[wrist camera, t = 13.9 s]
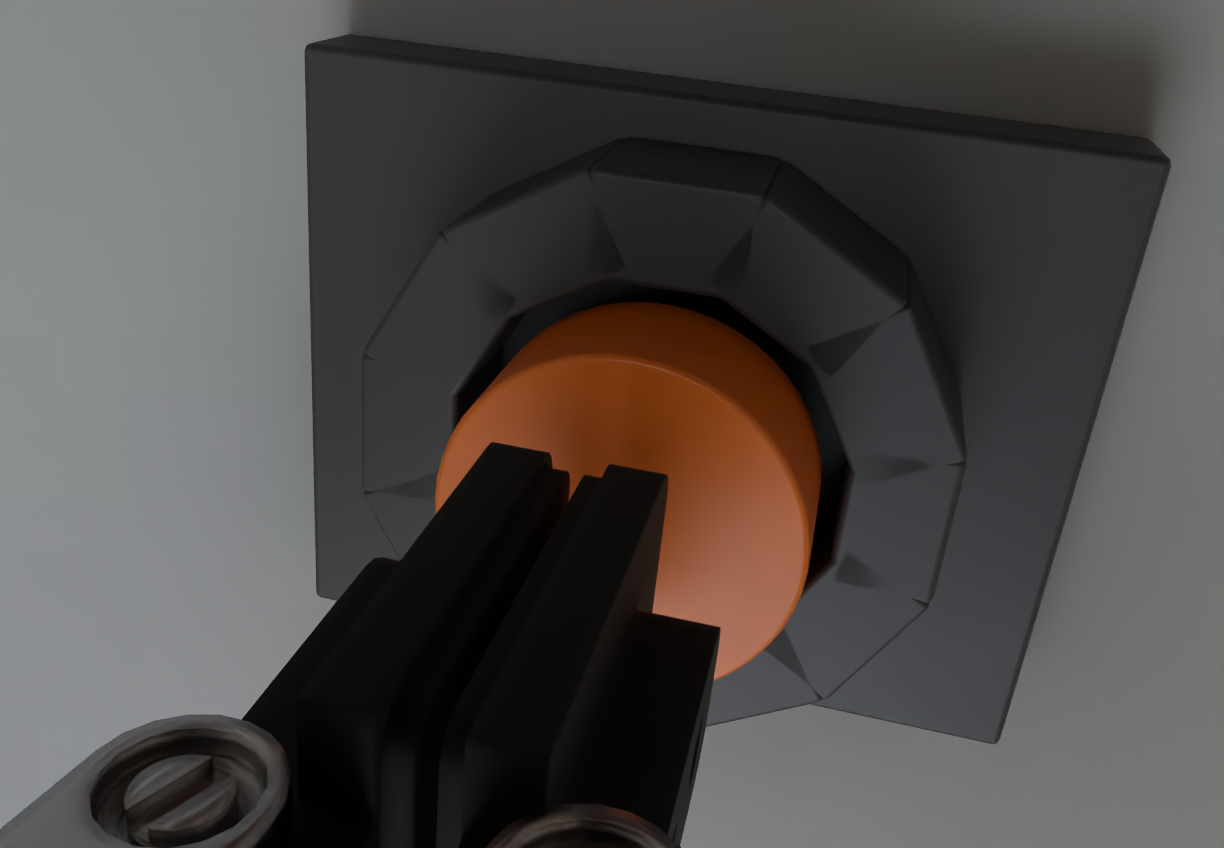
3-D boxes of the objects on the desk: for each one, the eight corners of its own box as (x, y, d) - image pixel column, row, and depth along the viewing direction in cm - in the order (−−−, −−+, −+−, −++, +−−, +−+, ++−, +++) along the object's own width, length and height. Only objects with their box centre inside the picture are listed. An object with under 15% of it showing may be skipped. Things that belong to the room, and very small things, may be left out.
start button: (850, 332, 12) (842, 393, 11) (791, 639, 14) (776, 731, 13) (493, 273, 13) (437, 324, 12) (479, 574, 15) (428, 653, 13)
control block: (1154, 137, 13) (1215, 196, 11) (993, 694, 17) (1009, 844, 14) (344, 33, 15) (222, 60, 12) (348, 557, 18) (253, 669, 16)
